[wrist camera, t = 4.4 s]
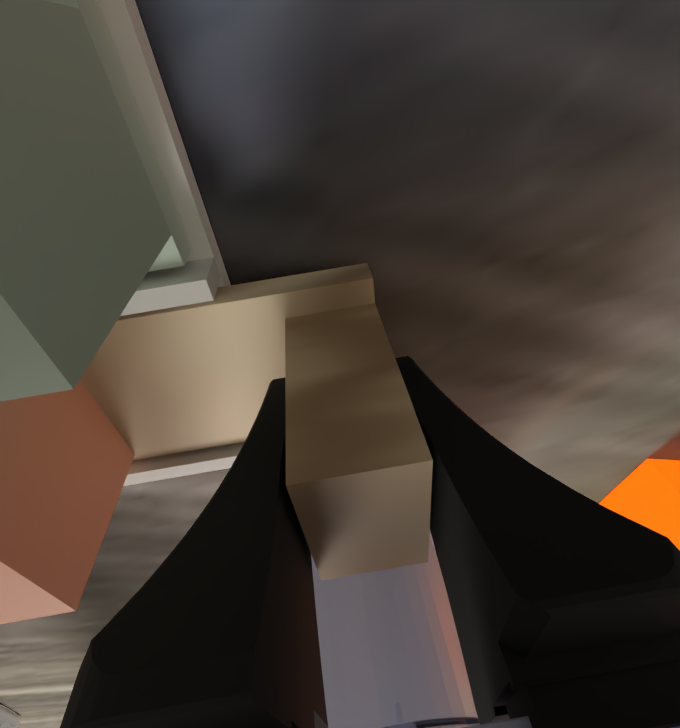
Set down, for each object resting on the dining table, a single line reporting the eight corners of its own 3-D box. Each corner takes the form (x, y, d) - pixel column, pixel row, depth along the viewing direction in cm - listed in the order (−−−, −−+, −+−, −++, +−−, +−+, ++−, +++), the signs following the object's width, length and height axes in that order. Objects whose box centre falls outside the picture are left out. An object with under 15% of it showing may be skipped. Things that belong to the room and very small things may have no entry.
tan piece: (367, 262, 11) (434, 430, 6) (378, 398, 15) (427, 575, 10) (-110, 342, 11) (-438, 579, 6) (16, 460, 15) (-125, 672, 10)
